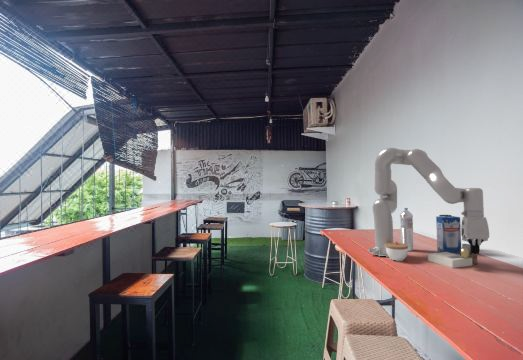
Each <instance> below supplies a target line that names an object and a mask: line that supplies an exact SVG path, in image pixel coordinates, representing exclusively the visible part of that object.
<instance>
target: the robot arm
mask: <svg viewBox="0 0 523 360" xmlns="http://www.w3.org/2000/svg"><path fill="white" fill-rule="evenodd" d="M392 164H394V165H406V166H411V167H413V168H414V169H415V170H416V171H417V173H418V174H419V175H420V176H421V177H422V178H423V179H424V180H425V181H426V182H427V184H428V185H429V186H430V187H431V188H432V190H433V191H434V192H435V193H436V194H437V195H438V196H439V197H440V198H441V199H442V200H443V201H444V202H445V203H447V204H451V205H454V204H458V203H463V211H461V212H460V214H461V215H462V216H463V217H462V219H461V223H460V225H461V241H464V242H467V244H471V252H472V253H473V254H477V255H480V251H481V249H480V246H481V245H482V244H483V243H484V242H487V241H488V240H489V238H490V229H489V223H488V219H487V217H486V216H484V215H485V213H484V212H485V211H484V209H485V208H484V191H483V189H482V188H480V187H468V188H459V187H455V186H454V185H453V184H452V183H451V182H450V181H449V180H448V179H447V178H446V176H445V175H444V173H443V171H442V169H441V168H440V167H439V166H438V165H437V164H436V163H435V162H434V161H433V160H432V159H431V158H430V157H429V156H428V153H427V152H426V151H424V150H423V149H419V148H414V149H399V148H396V147H388V148H384V149H382V150H381V151H380V152H379V153H378V154H377V156H376V158H375V161H374V191H375V193H376V195H378V196H379V198H378V199H376V200H375V201H374V202H373V205H372V213H373V221H374V222H373V223H374V246H373V247H372V248H368V249H367V252H368V253H372V255H373V254H374V255H373V256H375V255H378V256H377V257H380V256H386V257H385V258H389V257H388V255H387V253H386V246H385V245H386V244H387V243H394V224H393V223H394V221H393V217H392V214H393V213H395V212H396V211H397V208H398V207H397V206H398V186H397V184H396V182H395V181H394V180H392V169H391V168H392V167H391V165H392Z"/></svg>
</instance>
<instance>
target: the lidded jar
mask: <svg viewBox="0 0 523 360" xmlns="http://www.w3.org/2000/svg"><path fill="white" fill-rule="evenodd" d="M385 246H386V253H387V255H388V257H387V258H389V259H390V260H391V259H392V260H391V261H393V260H396V261H395V262H403V261H404V260H405V259H406V258H407V257H408V252H409V251H408V245H406V244H401V242H398V241H395V242H393V243H387V244H386V245H385Z"/></svg>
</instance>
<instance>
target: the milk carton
mask: <svg viewBox="0 0 523 360" xmlns="http://www.w3.org/2000/svg"><path fill="white" fill-rule="evenodd" d="M435 217H436V219H435V220H436V221H435V223H436V225H435V226H436V245H437V247H436V249H437V251H438V253H440V252H449V253H453V254H459V253H460V252H461V248H462V235H461V216H455V215H452V216H439V215H438V216H435Z"/></svg>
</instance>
